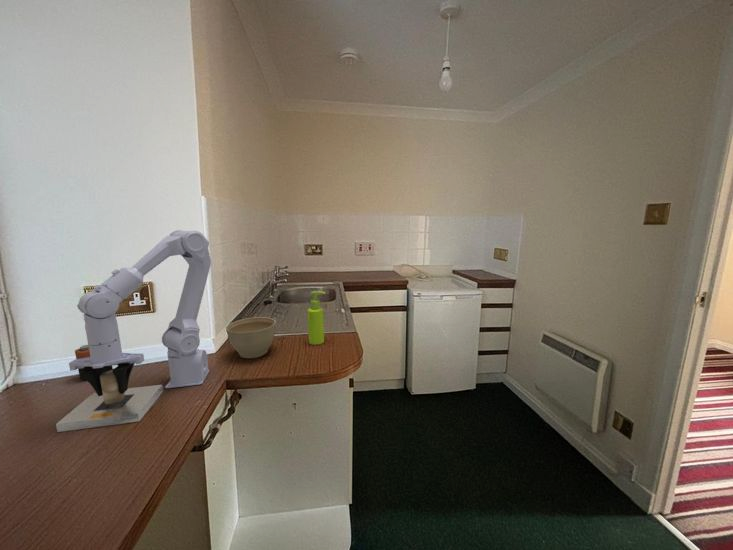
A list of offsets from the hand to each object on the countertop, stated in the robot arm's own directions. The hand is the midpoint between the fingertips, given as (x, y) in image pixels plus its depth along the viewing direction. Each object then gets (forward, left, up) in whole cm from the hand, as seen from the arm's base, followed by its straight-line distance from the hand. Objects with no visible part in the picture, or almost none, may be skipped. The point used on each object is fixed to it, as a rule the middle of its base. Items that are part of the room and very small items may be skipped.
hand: (113, 392), depth 74 cm
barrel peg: (0, 0, -2) cm, 2 cm away
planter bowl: (-29, -26, -5) cm, 40 cm away
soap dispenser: (-52, -31, -5) cm, 61 cm away
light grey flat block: (0, 0, -5) cm, 5 cm away
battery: (+16, -21, -5) cm, 27 cm away
